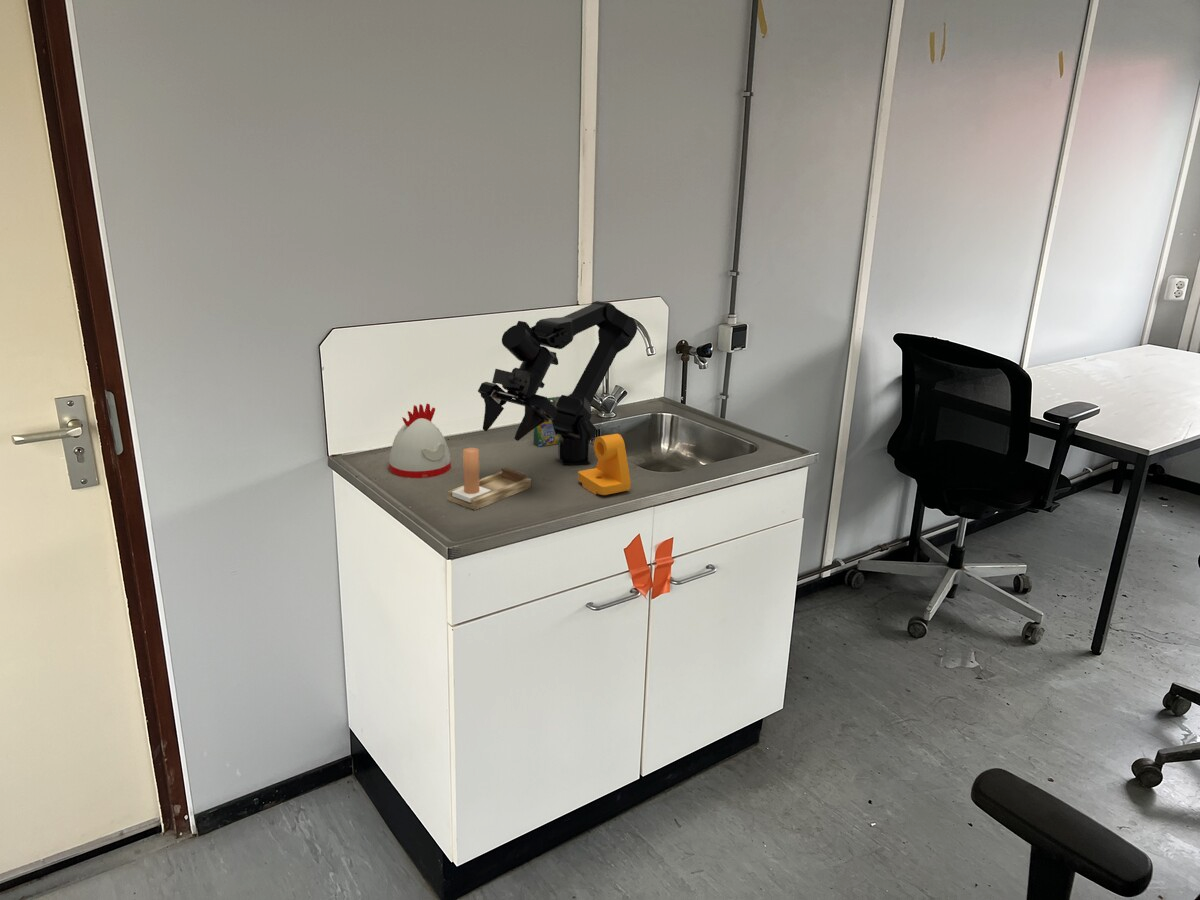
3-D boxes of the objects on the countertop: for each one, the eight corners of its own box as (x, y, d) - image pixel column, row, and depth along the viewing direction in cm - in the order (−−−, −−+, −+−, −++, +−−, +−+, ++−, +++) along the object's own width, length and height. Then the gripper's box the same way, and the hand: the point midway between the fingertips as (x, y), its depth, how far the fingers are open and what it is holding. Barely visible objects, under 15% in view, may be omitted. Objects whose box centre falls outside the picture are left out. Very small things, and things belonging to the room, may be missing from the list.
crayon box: (538, 447, 219) (539, 402, 215) (533, 444, 221) (533, 399, 217) (564, 443, 222) (565, 399, 219) (558, 440, 225) (559, 396, 221)
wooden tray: (504, 478, 198) (503, 466, 197) (530, 487, 193) (530, 474, 192) (447, 500, 185) (447, 486, 184) (475, 510, 180) (475, 496, 179)
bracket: (576, 482, 197) (577, 431, 193) (603, 477, 201) (605, 427, 197) (602, 499, 189) (604, 446, 185) (630, 493, 192) (632, 441, 188)
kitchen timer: (462, 469, 203) (461, 406, 198) (410, 482, 194) (408, 417, 189) (429, 453, 212) (427, 393, 207) (378, 465, 203) (374, 403, 198)
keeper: (472, 488, 188) (472, 443, 185) (491, 494, 185) (490, 449, 182) (452, 496, 184) (451, 450, 181) (470, 502, 181) (469, 456, 177)
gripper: (480, 345, 190) (447, 408, 186) (546, 360, 179) (512, 427, 176) (507, 371, 199) (476, 431, 195) (572, 386, 188) (540, 451, 185)
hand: (499, 435), depth 187 cm, fingers open, 9 cm apart
